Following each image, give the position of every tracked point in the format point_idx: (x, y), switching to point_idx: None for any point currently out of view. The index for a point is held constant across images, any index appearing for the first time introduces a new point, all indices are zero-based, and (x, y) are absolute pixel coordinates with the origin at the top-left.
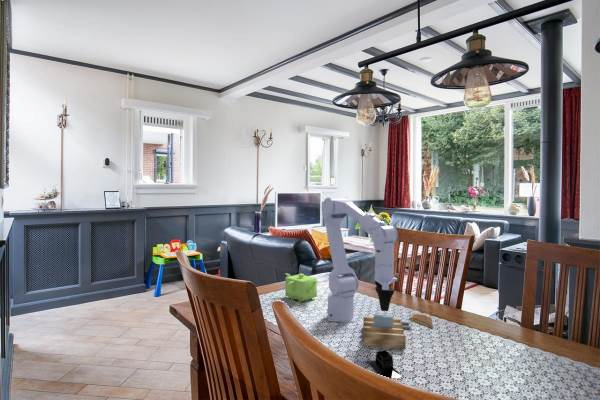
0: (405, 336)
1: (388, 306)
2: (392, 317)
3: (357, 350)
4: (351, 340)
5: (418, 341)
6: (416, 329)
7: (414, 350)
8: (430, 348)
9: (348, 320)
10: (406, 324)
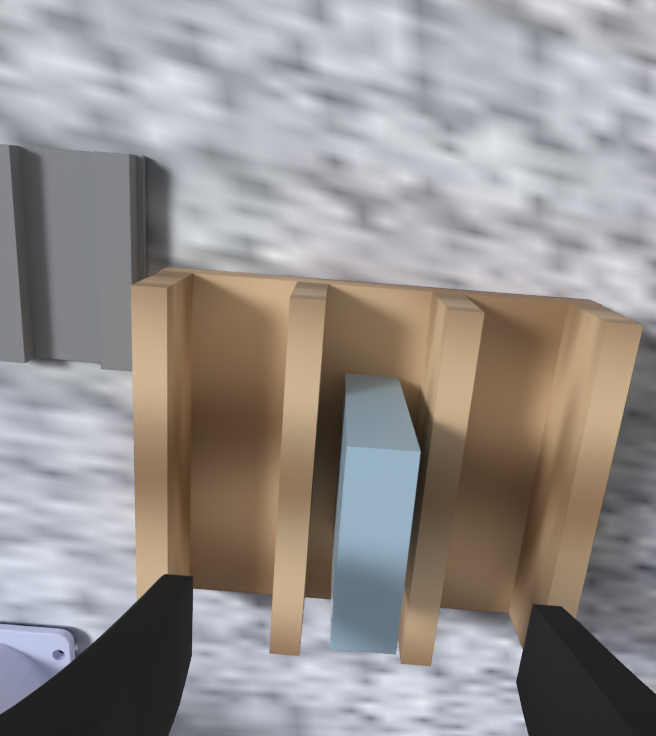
0: (639, 325)
1: (603, 655)
2: (416, 461)
3: None
4: (426, 666)
5: (411, 137)
6: (101, 81)
7: (607, 224)
8: (568, 54)
9: (52, 676)
10: (18, 173)
